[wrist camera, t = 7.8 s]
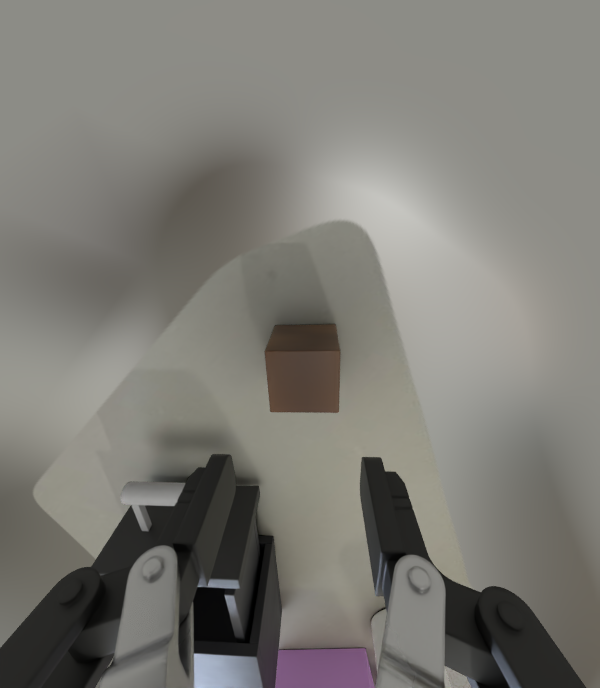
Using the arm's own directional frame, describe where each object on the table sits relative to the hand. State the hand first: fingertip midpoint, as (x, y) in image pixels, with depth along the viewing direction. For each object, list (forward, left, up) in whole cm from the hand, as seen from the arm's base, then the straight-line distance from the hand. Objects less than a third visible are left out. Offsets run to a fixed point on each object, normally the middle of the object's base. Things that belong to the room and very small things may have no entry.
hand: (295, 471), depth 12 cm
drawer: (+11, -18, -11) cm, 24 cm away
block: (0, 0, -11) cm, 11 cm away
